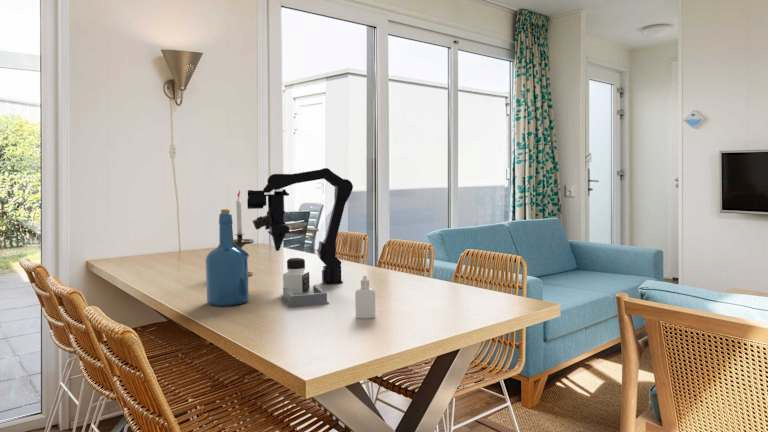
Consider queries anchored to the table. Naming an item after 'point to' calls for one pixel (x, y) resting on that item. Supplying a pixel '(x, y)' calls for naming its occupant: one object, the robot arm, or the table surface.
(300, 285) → the medicine bottle
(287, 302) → the u rest
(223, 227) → the wine bottle
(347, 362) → the table surface
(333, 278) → the robot arm
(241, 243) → the candlestick
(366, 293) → the eye dropper bottle
